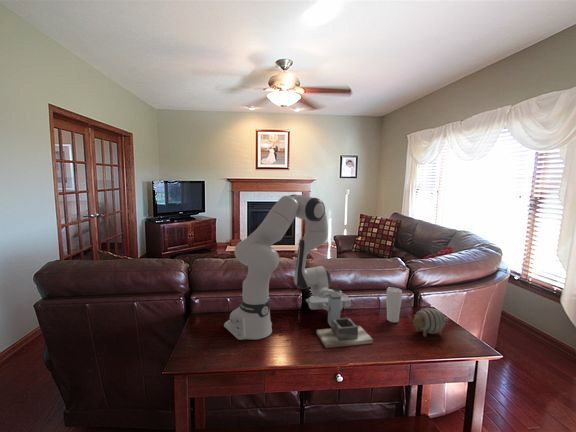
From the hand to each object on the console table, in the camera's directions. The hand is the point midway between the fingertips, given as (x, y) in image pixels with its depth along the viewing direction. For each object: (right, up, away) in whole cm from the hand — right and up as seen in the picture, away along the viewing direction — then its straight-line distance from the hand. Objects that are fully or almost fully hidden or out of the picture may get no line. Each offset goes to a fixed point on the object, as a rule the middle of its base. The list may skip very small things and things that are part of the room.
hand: (335, 309), depth 133 cm
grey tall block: (0, -8, +2) cm, 8 cm away
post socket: (+2, -9, -10) cm, 14 cm away
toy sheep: (+40, -9, -5) cm, 42 cm away
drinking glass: (+29, -8, +7) cm, 30 cm away
